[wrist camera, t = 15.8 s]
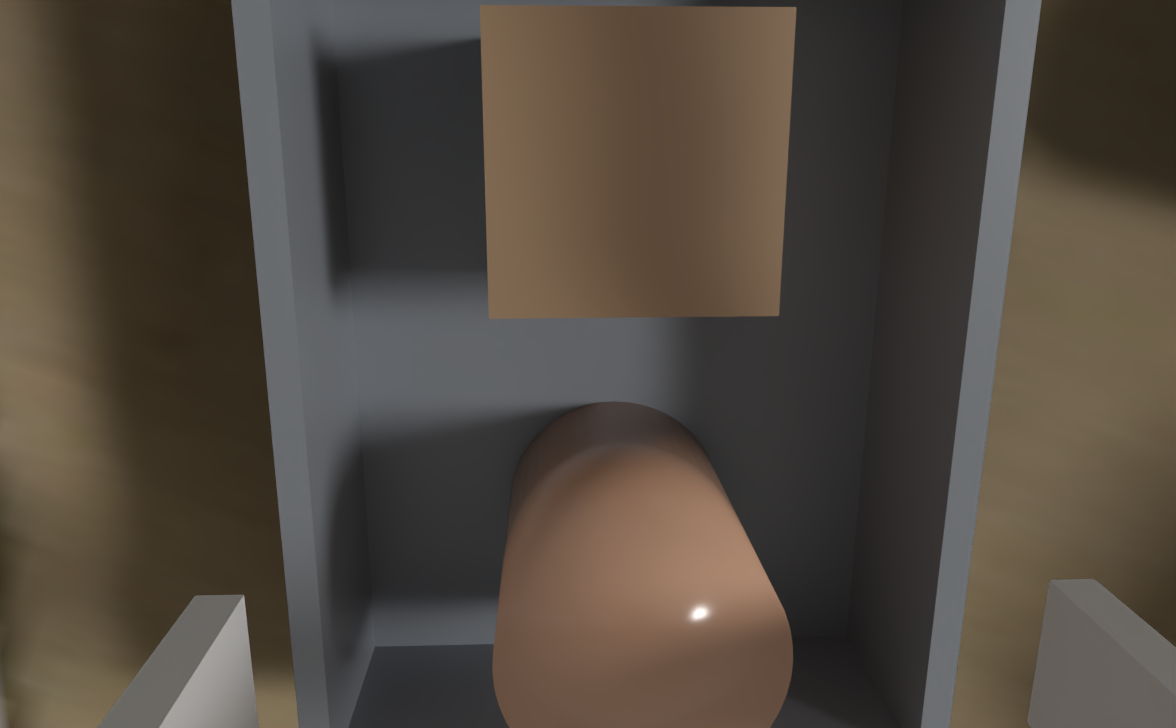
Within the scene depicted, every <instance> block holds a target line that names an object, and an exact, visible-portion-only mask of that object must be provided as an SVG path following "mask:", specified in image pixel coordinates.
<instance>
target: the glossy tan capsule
mask: <svg viewBox="0 0 1176 728" xmlns="http://www.w3.org/2000/svg"><path fill="white" fill-rule="evenodd" d="M792 667H793V643H792V637H791V631H790V626H789V623H788V620H787V617H786V614H785V611H784V609H783V606H782V604H781V602H780V600H779V598H778V596H777V594H776V592H775V590H774V588H773V586H772V584H771V582H770V580H769V578H768V576H767V574H766V572H765V570H764V568H763V566H762V564H761V562H760V560H759V558H758V556H757V554H756V552H755V550H754V548H753V546H752V544H751V542H750V540H749V538H748V536H747V534H746V532H745V530H744V528H743V526H742V524H741V522H740V520H739V518H738V516H737V514H736V512H735V510H734V508H733V506H732V504H731V502H730V500H729V498H728V496H727V494H726V492H725V490H724V488H723V486H722V484H721V482H720V480H719V478H718V476H717V474H716V472H715V470H714V468H713V466H712V464H711V462H710V460H709V458H708V456H707V454H706V452H705V450H704V449H703V447H702V446H701V444H700V443H699V441H698V440H697V439H696V438H695V437H694V435H693V434H692V433H691V432H690V431H689V430H688V429H687V428H686V427H684V426H683V425H682V424H681V423H680V422H678V421H677V420H675V419H674V418H672V417H671V416H669V415H667V414H666V413H663V412H661V411H659V410H657V409H655V408H652V407H648V406H645V405H642V404H636V403H630V402H615V401H613V402H601V403H596V404H591V405H586V406H584V407H581V408H578V409H575V410H572V411H570V412H568V413H566V414H564V415H562V416H560V417H559V418H557V419H556V420H554V421H553V422H551V423H550V424H549V425H547V426H546V427H545V428H544V429H543V430H542V431H541V432H539V434H538V435H537V436H536V437H535V438H534V439H533V440H532V441H531V443H530V444H529V446H528V447H527V448H526V450H525V451H524V453H523V455H522V457H521V459H520V461H519V463H518V465H517V468H516V471H515V474H514V477H513V482H512V487H511V494H510V503H509V512H508V522H507V531H506V540H505V549H504V558H503V567H502V576H501V585H500V594H499V603H498V612H497V621H496V631H495V640H494V649H493V667H492V673H493V681H494V689H495V693H496V697H497V701H498V704H499V707H500V709H501V712H502V714H503V716H504V719H505V721H506V723H507V724H508V726H509V728H770V727H771V725H772V724H773V722H774V720H775V719H776V717H777V715H778V714H779V712H780V709H781V707H782V705H783V702H784V700H785V698H786V695H787V692H788V688H789V684H790V681H791V675H792Z"/></svg>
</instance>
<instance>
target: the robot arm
mask: <svg viewBox="0 0 1176 728" xmlns="http://www.w3.org/2000/svg"><path fill="white" fill-rule="evenodd" d="M1027 723H1028V724H1029V726H1030V727H1031V728H1176V647H1175V646H1174V645H1172V644H1171V643H1170V642H1169V641H1168V640H1167V639H1165V638H1164V637H1163V636H1162V635H1161V634H1159V633H1158V632H1157V631H1156V630H1155V629H1153V628H1152V627H1151V626H1150V625H1149V624H1148V623H1146V622H1145V621H1144V620H1143V619H1142V618H1140V617H1139V616H1138V615H1137V614H1136V613H1134V612H1133V611H1132V610H1131V609H1130V608H1129V607H1127V606H1126V605H1125V604H1124V603H1123V602H1121V601H1120V600H1119V599H1118V598H1117V597H1115V596H1114V595H1113V594H1112V593H1111V592H1110V591H1108V590H1107V589H1106V588H1105V587H1104V586H1102V585H1101V584H1100V583H1099V582H1098V581H1096V580H1095V579H1064V580H1049V586H1048V592H1047V599H1046V605H1045V611H1044V618H1043V624H1042V630H1041V637H1040V643H1039V649H1038V656H1037V662H1036V668H1035V675H1034V681H1033V687H1032V693H1031V700H1030V706H1029V712H1028V719H1027ZM97 728H259V726H258V717H257V708H256V699H255V690H254V681H253V672H252V663H251V654H250V645H249V636H248V627H247V618H246V608H245V599H244V595H196V596H194V598H193V599H192V600H191V602H190V603H189V604H188V606H187V607H186V608H185V610H184V611H183V612H182V614H181V615H180V616H179V618H178V619H177V620H176V622H175V623H174V625H173V626H172V627H171V629H170V630H169V631H168V633H167V634H166V635H165V637H164V638H163V639H162V641H161V642H160V643H159V645H158V646H157V648H156V649H155V650H154V652H153V653H152V654H151V656H150V657H149V658H148V660H147V661H146V662H145V664H144V665H143V666H142V668H141V669H140V670H139V672H138V673H137V675H136V676H135V677H134V679H133V680H132V681H131V683H130V684H129V685H128V687H127V688H126V689H125V691H124V692H123V693H122V695H121V696H120V698H119V699H118V700H117V702H116V703H115V704H114V706H113V707H112V708H111V710H110V711H109V712H108V714H107V715H106V716H105V718H104V719H103V721H102V722H101V723H100V725H99V726H98V727H97Z"/></svg>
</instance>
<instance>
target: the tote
mask: <svg viewBox="0 0 1176 728" xmlns="http://www.w3.org/2000/svg"><path fill="white" fill-rule="evenodd" d="M1041 1H1042V0H231V4H232V15H233V26H234V36H235V47H236V58H237V68H238V79H239V90H240V101H241V111H242V122H243V133H244V143H245V154H246V165H247V176H248V186H249V197H250V208H251V218H252V229H253V240H254V251H255V261H256V272H257V283H258V293H259V304H260V315H261V326H262V336H263V347H264V358H265V368H266V379H267V390H268V401H269V411H270V422H271V433H272V443H273V454H274V465H275V476H276V486H277V497H278V508H279V518H280V529H281V540H282V551H283V561H284V572H285V583H286V593H287V604H288V615H289V626H290V636H291V647H292V658H293V668H294V679H295V690H296V701H297V711H298V722H299V728H509V726H508V724H507V723H506V721H505V719H504V716H503V714H502V712H501V709H500V707H499V704H498V701H497V697H496V693H495V689H494V681H493V673H492V667H493V649H494V640H495V631H496V621H497V612H498V603H499V594H500V585H501V576H502V567H503V558H504V549H505V540H506V531H507V522H508V512H509V503H510V494H511V487H512V482H513V477H514V474H515V471H516V468H517V465H518V463H519V461H520V459H521V457H522V455H523V453H524V451H525V450H526V448H527V447H528V446H529V444H530V443H531V441H532V440H533V439H534V438H535V437H536V436H537V435H538V434H539V432H541V431H542V430H543V429H544V428H545V427H546V426H547V425H549V424H550V423H551V422H553V421H554V420H556V419H557V418H559V417H560V416H562V415H564V414H566V413H568V412H570V411H572V410H575V409H578V408H581V407H584V406H586V405H591V404H596V403H601V402H613V401H615V402H630V403H636V404H642V405H645V406H648V407H652V408H655V409H657V410H659V411H661V412H663V413H666V414H667V415H669V416H671V417H672V418H674V419H675V420H677V421H678V422H680V423H681V424H682V425H683V426H684V427H686V428H687V429H688V430H689V431H690V432H691V433H692V434H693V435H694V437H695V438H696V439H697V440H698V441H699V443H700V444H701V446H702V447H703V449H704V450H705V452H706V454H707V456H708V458H709V460H710V462H711V464H712V466H713V468H714V470H715V472H716V474H717V476H718V478H719V480H720V482H721V484H722V486H723V488H724V490H725V492H726V494H727V496H728V498H729V500H730V502H731V504H732V506H733V508H734V510H735V512H736V514H737V516H738V518H739V520H740V522H741V524H742V526H743V528H744V530H745V532H746V534H747V536H748V538H749V540H750V542H751V544H752V546H753V548H754V550H755V552H756V554H757V556H758V558H759V560H760V562H761V564H762V566H763V568H764V570H765V572H766V574H767V576H768V578H769V580H770V582H771V584H772V586H773V588H774V590H775V592H776V594H777V596H778V598H779V600H780V602H781V604H782V606H783V609H784V611H785V614H786V617H787V620H788V623H789V626H790V631H791V637H792V643H793V667H792V675H791V681H790V684H789V688H788V692H787V695H786V698H785V700H784V702H783V705H782V707H781V709H780V712H779V714H778V715H777V717H776V719H775V720H774V722H773V724H772V725H771V727H770V728H949V727H950V719H951V711H952V703H953V696H954V688H955V680H956V672H957V664H958V656H959V648H960V640H961V632H962V625H963V617H964V609H965V601H966V593H967V585H968V577H969V569H970V561H971V554H972V546H973V538H974V530H975V522H976V514H977V506H978V498H979V490H980V483H981V475H982V467H983V459H984V451H985V443H986V435H987V427H988V419H989V412H990V404H991V396H992V388H993V380H994V372H995V364H996V356H997V348H998V340H999V333H1000V325H1001V317H1002V309H1003V301H1004V293H1005V285H1006V277H1007V269H1008V262H1009V254H1010V246H1011V238H1012V230H1013V222H1014V214H1015V206H1016V198H1017V191H1018V183H1019V175H1020V167H1021V159H1022V151H1023V143H1024V135H1025V127H1026V120H1027V112H1028V104H1029V96H1030V88H1031V80H1032V72H1033V64H1034V56H1035V49H1036V41H1037V33H1038V25H1039V17H1040V9H1041ZM480 5H558V6H713V7H797V8H796V25H795V43H794V60H793V78H792V95H791V113H790V130H789V148H788V165H787V183H786V200H785V218H784V235H783V253H782V270H781V288H780V305H779V316H739V317H630V318H520V319H489V306H488V272H487V237H486V203H485V169H484V134H483V100H482V65H481V31H480Z"/></svg>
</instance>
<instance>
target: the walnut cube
mask: <svg viewBox="0 0 1176 728" xmlns="http://www.w3.org/2000/svg"><path fill="white" fill-rule="evenodd" d="M796 8H797V7H713V6H558V5H480V31H481V65H482V100H483V134H484V169H485V203H486V237H487V272H488V306H489V319H520V318H630V317H739V316H779V305H780V288H781V270H782V253H783V235H784V218H785V200H786V183H787V165H788V148H789V130H790V113H791V95H792V78H793V60H794V43H795V25H796Z"/></svg>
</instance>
